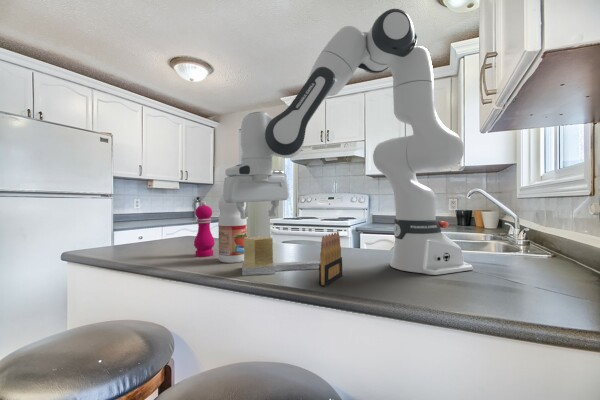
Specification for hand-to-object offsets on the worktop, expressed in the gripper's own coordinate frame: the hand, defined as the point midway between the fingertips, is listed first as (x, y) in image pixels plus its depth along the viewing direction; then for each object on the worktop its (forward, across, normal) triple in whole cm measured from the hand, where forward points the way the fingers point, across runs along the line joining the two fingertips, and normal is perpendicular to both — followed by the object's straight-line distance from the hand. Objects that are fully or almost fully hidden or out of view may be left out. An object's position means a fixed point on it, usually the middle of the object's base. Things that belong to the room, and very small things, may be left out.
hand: (258, 217), depth 86 cm
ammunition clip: (+16, -8, +21) cm, 28 cm away
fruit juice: (+16, 0, -18) cm, 24 cm away
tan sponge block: (+13, +1, 0) cm, 13 cm away
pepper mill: (+16, +4, -33) cm, 36 cm away
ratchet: (+16, -7, +5) cm, 18 cm away
